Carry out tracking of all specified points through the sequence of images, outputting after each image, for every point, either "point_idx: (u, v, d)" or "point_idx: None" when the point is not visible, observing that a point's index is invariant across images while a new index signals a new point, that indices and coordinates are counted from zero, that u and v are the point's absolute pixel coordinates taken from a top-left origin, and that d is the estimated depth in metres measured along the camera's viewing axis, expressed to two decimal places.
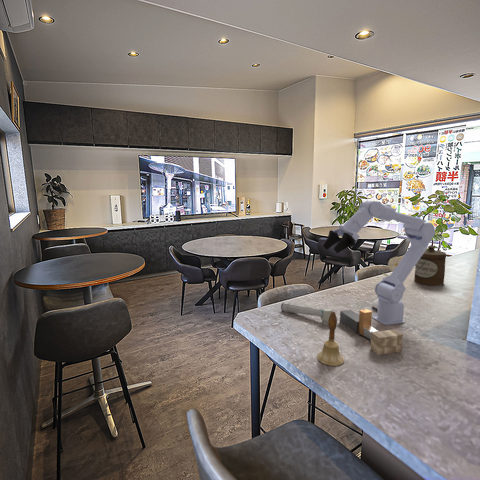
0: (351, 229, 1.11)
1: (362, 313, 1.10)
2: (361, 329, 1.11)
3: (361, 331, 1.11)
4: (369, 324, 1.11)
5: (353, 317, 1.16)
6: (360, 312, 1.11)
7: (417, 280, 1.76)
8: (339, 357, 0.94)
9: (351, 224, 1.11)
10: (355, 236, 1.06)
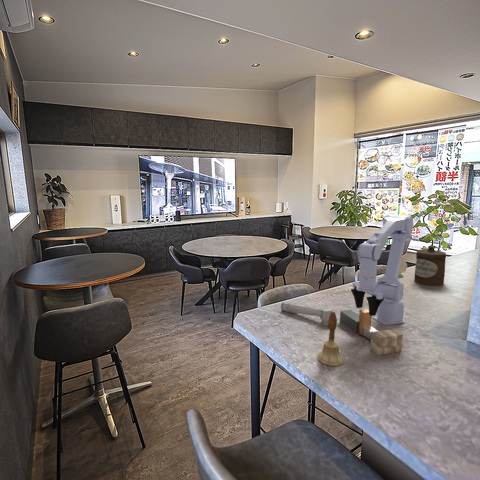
0: (369, 286, 1.06)
1: (362, 313, 1.10)
2: (361, 329, 1.11)
3: (361, 331, 1.11)
4: (369, 324, 1.11)
5: (353, 317, 1.16)
6: (360, 312, 1.11)
7: (417, 280, 1.76)
8: (339, 357, 0.94)
9: (365, 282, 1.07)
10: (379, 297, 1.03)
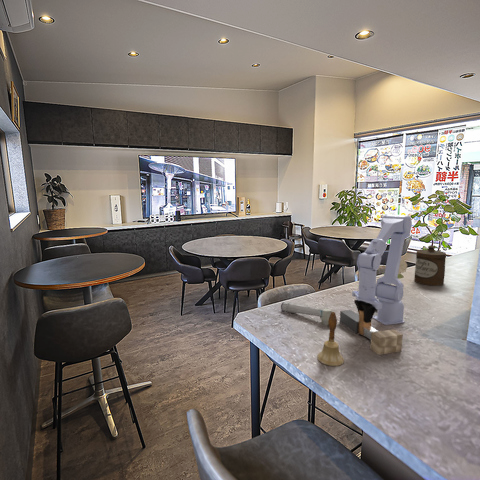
0: (369, 296, 1.07)
1: (362, 313, 1.10)
2: (361, 329, 1.11)
3: (361, 331, 1.11)
4: (369, 324, 1.11)
5: (353, 317, 1.16)
6: (360, 312, 1.11)
7: (417, 280, 1.76)
8: (339, 357, 0.94)
9: (365, 292, 1.07)
10: (378, 307, 1.03)
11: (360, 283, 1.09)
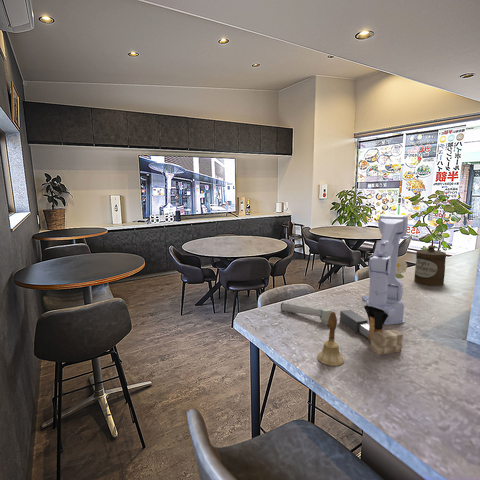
0: (380, 302, 1.01)
1: (373, 319, 1.04)
2: None
3: None
4: None
5: (353, 317, 1.16)
6: (371, 318, 1.05)
7: (417, 280, 1.76)
8: (339, 357, 0.94)
9: (376, 297, 1.02)
10: (391, 314, 0.97)
11: (372, 288, 1.02)
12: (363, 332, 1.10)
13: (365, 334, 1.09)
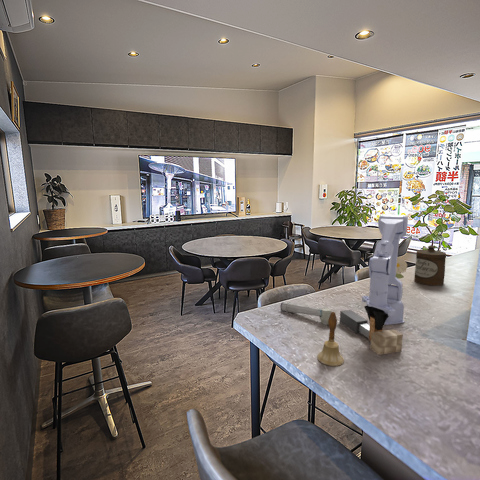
0: (380, 302, 1.01)
1: (373, 320, 1.04)
2: None
3: None
4: None
5: (353, 317, 1.16)
6: (371, 319, 1.05)
7: (417, 280, 1.76)
8: (339, 357, 0.94)
9: (376, 297, 1.01)
10: (391, 314, 0.97)
11: (373, 289, 1.02)
12: (363, 332, 1.10)
13: (365, 334, 1.09)
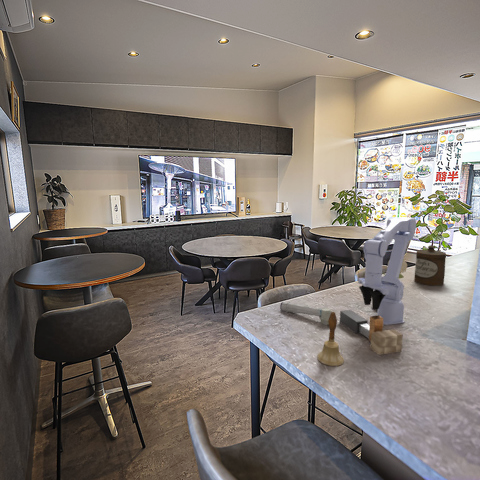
0: (375, 282, 1.08)
1: (373, 320, 1.04)
2: None
3: None
4: None
5: (353, 317, 1.16)
6: (371, 318, 1.05)
7: (417, 280, 1.76)
8: (339, 357, 0.94)
9: (372, 278, 1.09)
10: (385, 292, 1.04)
11: (367, 269, 1.10)
12: (363, 332, 1.10)
13: (365, 334, 1.09)
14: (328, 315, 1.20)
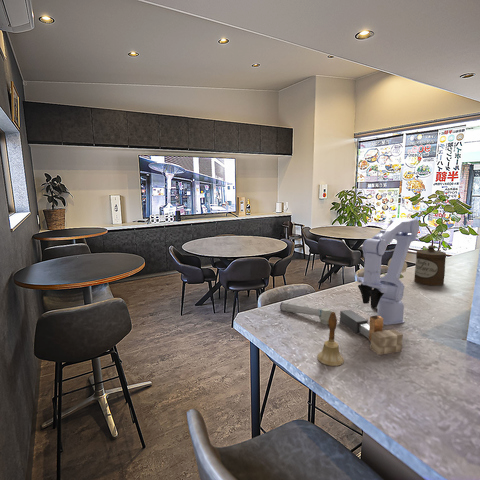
0: (374, 281, 1.10)
1: (373, 320, 1.04)
2: None
3: None
4: None
5: (353, 317, 1.16)
6: (371, 318, 1.05)
7: (417, 280, 1.76)
8: (339, 357, 0.94)
9: (370, 276, 1.10)
10: (383, 291, 1.06)
11: (365, 268, 1.11)
12: (363, 332, 1.10)
13: (365, 334, 1.09)
14: (328, 315, 1.21)
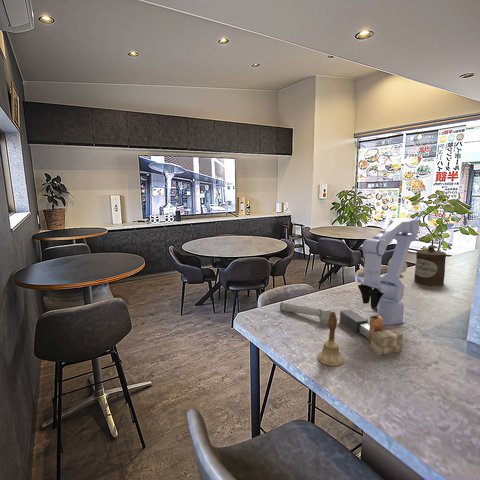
0: (374, 281, 1.10)
1: (373, 320, 1.04)
2: None
3: None
4: None
5: (353, 317, 1.16)
6: (371, 318, 1.05)
7: (417, 280, 1.76)
8: (339, 357, 0.94)
9: (370, 276, 1.10)
10: (383, 291, 1.06)
11: (365, 268, 1.11)
12: (363, 332, 1.10)
13: (365, 334, 1.09)
14: (328, 315, 1.21)
